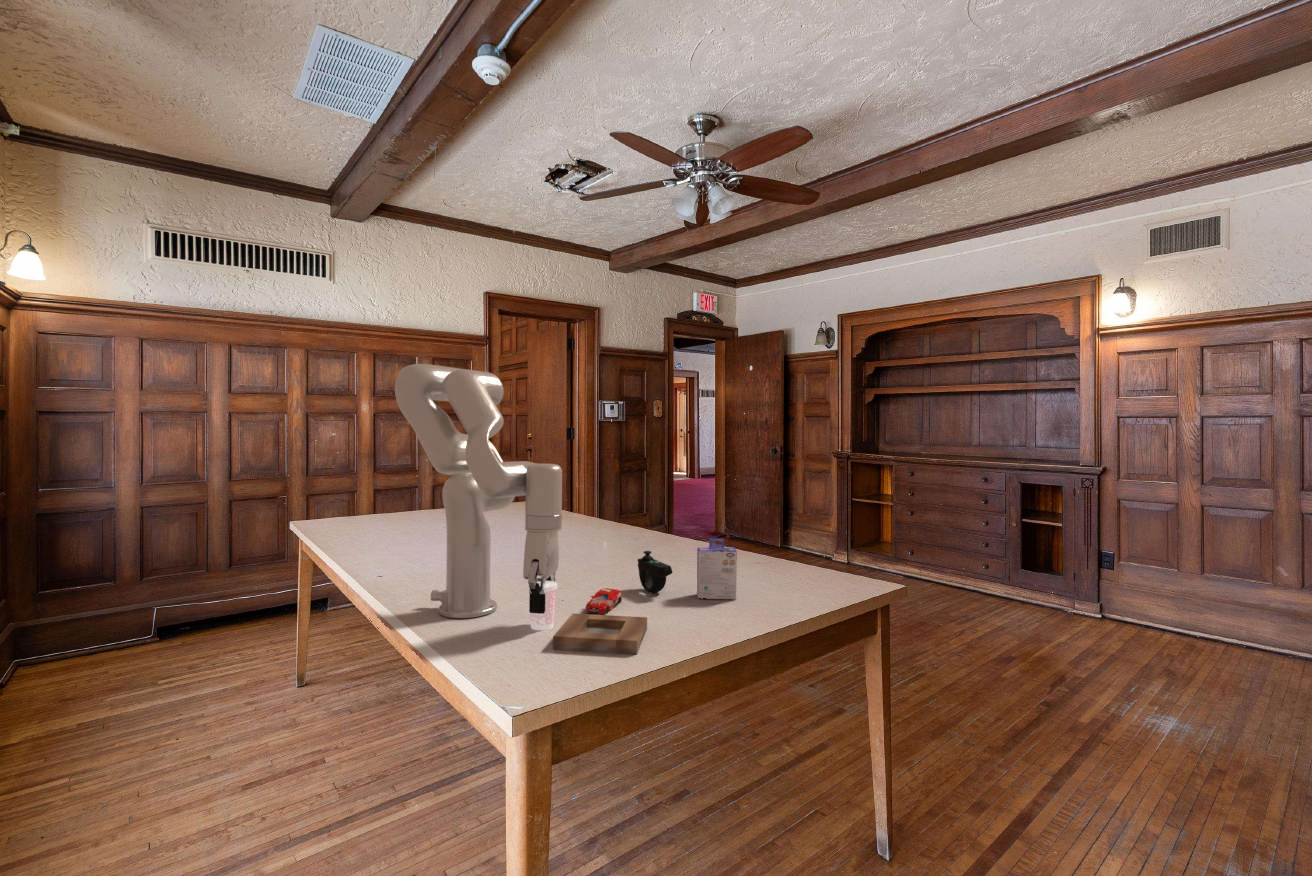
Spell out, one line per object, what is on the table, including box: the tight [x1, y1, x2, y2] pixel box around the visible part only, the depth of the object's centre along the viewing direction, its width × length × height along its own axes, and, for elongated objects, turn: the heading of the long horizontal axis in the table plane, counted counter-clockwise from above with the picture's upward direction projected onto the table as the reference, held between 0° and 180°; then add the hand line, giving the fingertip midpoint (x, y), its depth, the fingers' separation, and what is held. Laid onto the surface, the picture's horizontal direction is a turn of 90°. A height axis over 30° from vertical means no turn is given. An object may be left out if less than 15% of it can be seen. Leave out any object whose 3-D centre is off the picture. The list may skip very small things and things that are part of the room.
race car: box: [585, 587, 623, 615], centre depth 138 cm, size 13×5×4 cm, turn 162°
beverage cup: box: [527, 581, 558, 631], centre depth 123 cm, size 6×6×14 cm
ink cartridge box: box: [696, 537, 738, 600], centre depth 148 cm, size 10×6×14 cm, turn 89°
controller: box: [637, 550, 673, 594], centre depth 150 cm, size 4×12×10 cm, turn 32°
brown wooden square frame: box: [552, 612, 648, 655], centre depth 116 cm, size 16×14×2 cm
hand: (542, 607), depth 123 cm, fingers closed on beverage cup, 6 cm apart
